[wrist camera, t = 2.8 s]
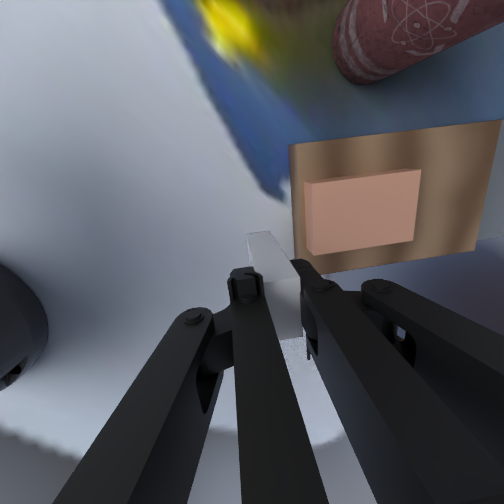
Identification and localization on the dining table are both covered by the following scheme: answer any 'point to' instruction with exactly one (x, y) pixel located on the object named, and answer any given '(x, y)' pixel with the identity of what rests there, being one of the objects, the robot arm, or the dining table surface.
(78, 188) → the dining table surface
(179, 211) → the dining table surface
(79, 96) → the dining table surface
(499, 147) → the mat
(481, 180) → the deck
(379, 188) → the tile
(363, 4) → the can
